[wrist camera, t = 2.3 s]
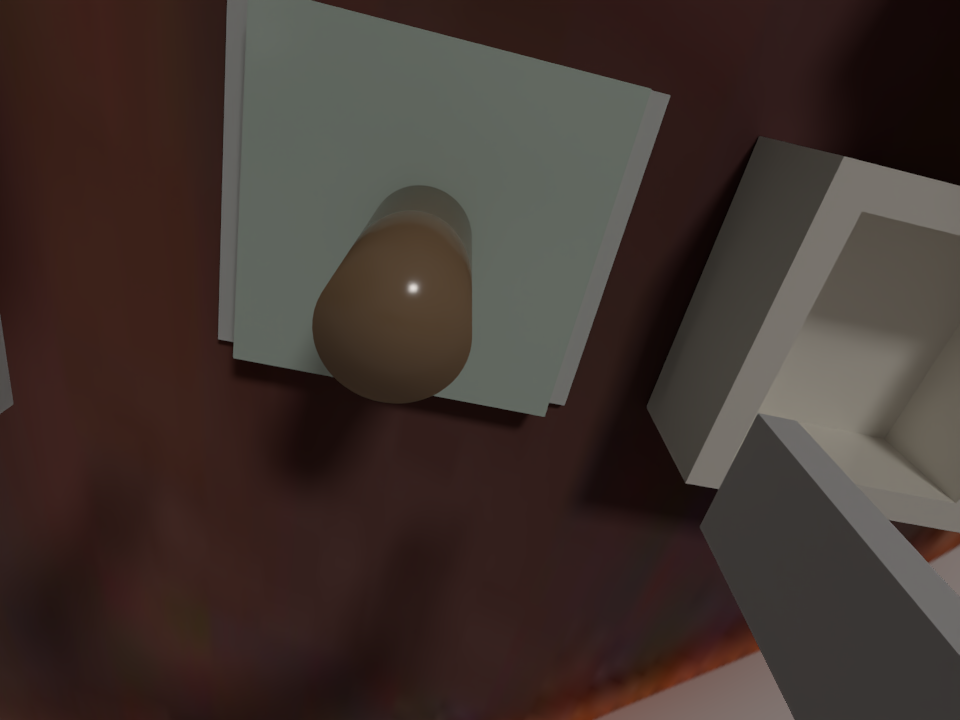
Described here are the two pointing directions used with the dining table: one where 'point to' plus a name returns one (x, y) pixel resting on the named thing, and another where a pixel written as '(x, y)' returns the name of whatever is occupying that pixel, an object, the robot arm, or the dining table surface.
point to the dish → (828, 329)
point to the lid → (418, 205)
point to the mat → (232, 196)
